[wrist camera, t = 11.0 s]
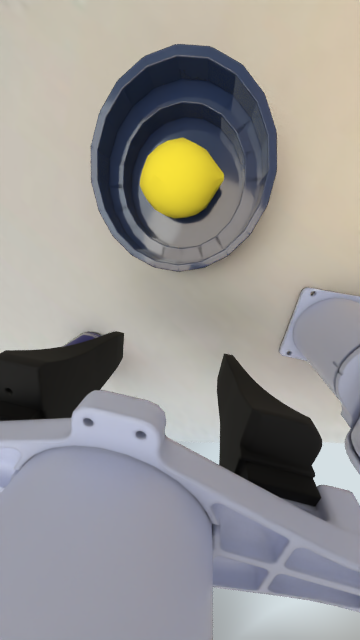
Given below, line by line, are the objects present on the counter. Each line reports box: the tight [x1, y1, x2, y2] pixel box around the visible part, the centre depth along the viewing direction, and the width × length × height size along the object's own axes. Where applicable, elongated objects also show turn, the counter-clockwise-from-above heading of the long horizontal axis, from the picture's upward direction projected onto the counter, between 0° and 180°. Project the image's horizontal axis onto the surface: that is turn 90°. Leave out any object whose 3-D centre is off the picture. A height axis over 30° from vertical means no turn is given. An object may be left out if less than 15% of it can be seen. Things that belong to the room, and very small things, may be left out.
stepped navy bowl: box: [91, 44, 277, 272], centre depth 18 cm, size 14×14×4 cm
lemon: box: [140, 138, 224, 219], centre depth 17 cm, size 7×5×5 cm
